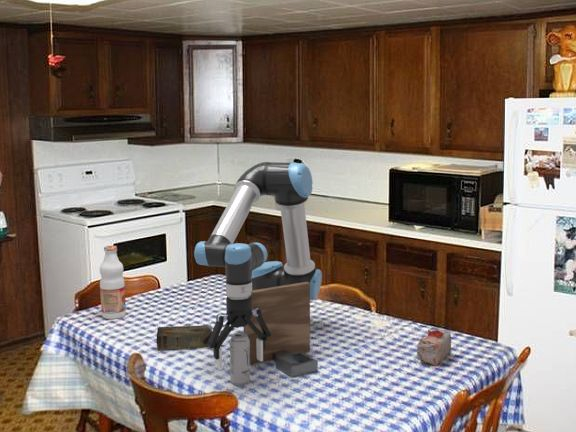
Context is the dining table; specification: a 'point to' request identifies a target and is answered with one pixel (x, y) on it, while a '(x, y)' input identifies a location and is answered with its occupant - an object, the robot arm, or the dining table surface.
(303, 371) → the can cradle
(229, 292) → the robot arm
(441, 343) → the food item
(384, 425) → the dining table surface
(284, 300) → the wall board
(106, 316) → the fruit juice
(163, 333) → the beverage carton
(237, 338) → the energy drink can
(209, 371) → the dining table surface
